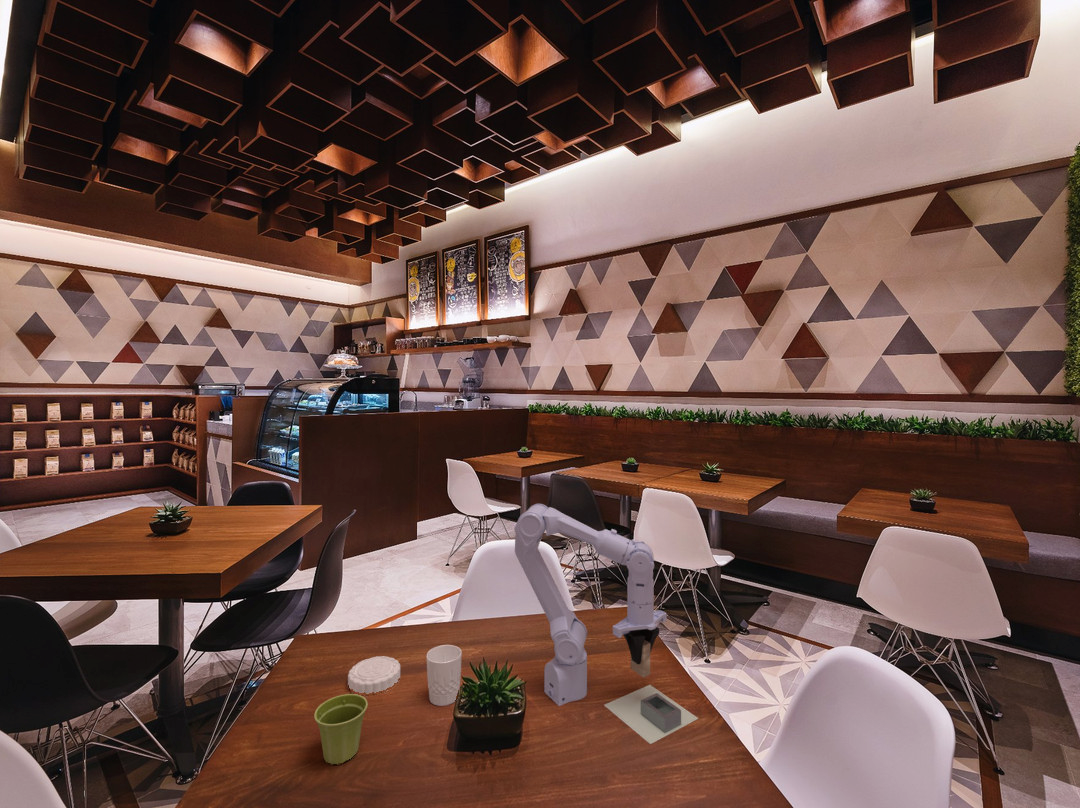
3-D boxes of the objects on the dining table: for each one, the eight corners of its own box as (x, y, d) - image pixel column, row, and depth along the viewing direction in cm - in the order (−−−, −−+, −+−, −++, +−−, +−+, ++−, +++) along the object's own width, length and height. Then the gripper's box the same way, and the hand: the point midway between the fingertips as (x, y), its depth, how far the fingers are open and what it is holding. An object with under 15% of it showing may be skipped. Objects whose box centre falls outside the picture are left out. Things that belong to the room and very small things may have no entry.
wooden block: (643, 677, 103) (643, 645, 103) (630, 668, 106) (630, 637, 106) (650, 674, 104) (650, 643, 104) (637, 666, 107) (637, 635, 107)
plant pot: (328, 735, 95) (328, 692, 95) (374, 736, 95) (374, 693, 95) (304, 771, 86) (304, 724, 86) (355, 773, 86) (355, 725, 86)
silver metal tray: (664, 733, 95) (664, 718, 95) (640, 714, 100) (640, 700, 100) (681, 724, 97) (681, 710, 97) (656, 706, 103) (656, 692, 103)
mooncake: (348, 702, 106) (348, 686, 106) (347, 674, 117) (347, 660, 117) (403, 689, 111) (403, 674, 111) (397, 663, 122) (397, 649, 122)
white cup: (423, 691, 110) (423, 648, 110) (457, 683, 113) (457, 641, 113) (430, 711, 103) (429, 666, 103) (465, 702, 106) (465, 658, 106)
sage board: (650, 749, 92) (650, 744, 92) (603, 709, 103) (603, 705, 103) (698, 723, 99) (698, 718, 99) (649, 688, 111) (649, 684, 111)
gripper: (628, 614, 98) (628, 679, 98) (676, 598, 106) (676, 659, 106) (606, 601, 104) (606, 663, 104) (653, 588, 112) (653, 645, 112)
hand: (640, 660), depth 105 cm, fingers closed on wooden block, 2 cm apart
